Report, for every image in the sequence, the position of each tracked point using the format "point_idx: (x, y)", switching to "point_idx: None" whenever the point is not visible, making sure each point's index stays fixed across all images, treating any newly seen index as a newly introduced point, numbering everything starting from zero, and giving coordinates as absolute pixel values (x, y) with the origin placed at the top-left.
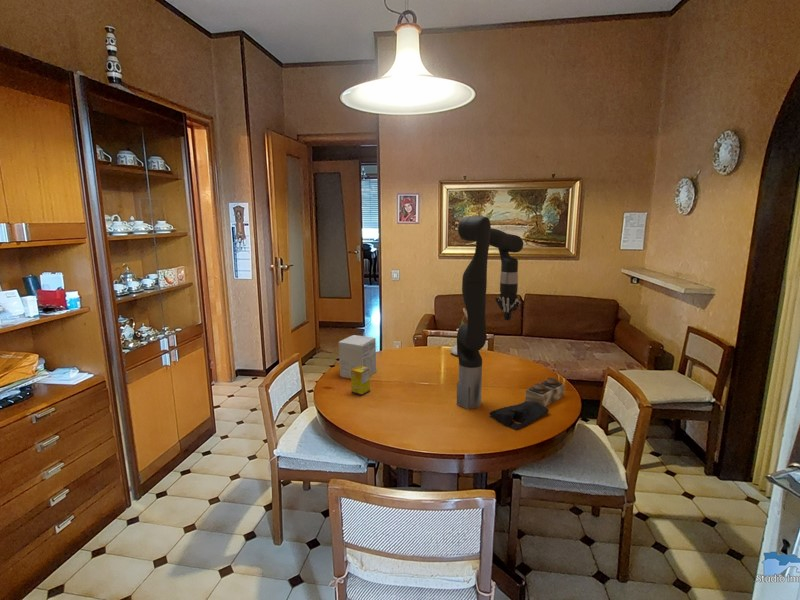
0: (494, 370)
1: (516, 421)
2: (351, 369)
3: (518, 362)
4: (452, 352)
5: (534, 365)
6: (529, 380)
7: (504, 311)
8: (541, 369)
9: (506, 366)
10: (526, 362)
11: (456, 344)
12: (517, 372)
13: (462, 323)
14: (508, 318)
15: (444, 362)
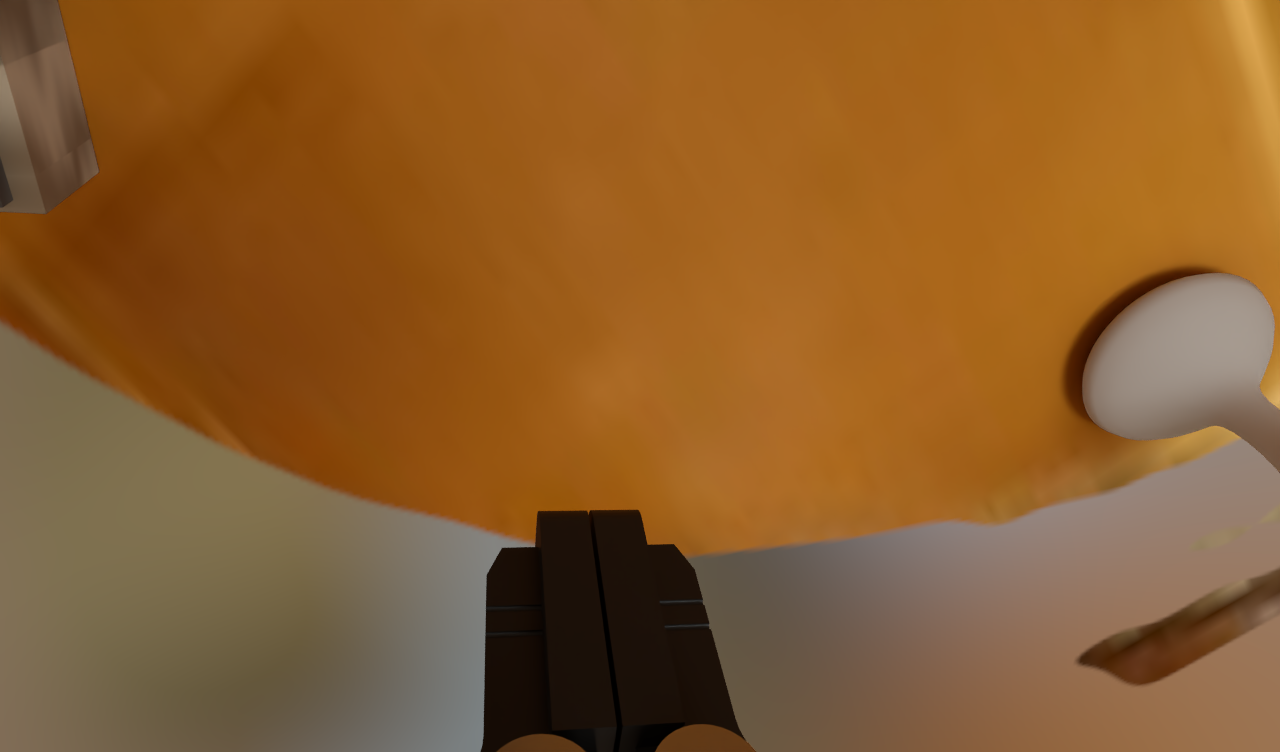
0: (742, 238)
1: None
2: None
3: (673, 502)
4: (1235, 277)
5: None
6: (372, 259)
7: (705, 737)
8: (458, 507)
9: (705, 380)
10: None
11: (1260, 370)
12: (561, 337)
13: None
14: (514, 569)
15: (1238, 70)
